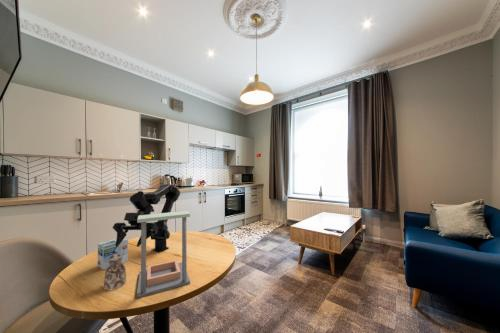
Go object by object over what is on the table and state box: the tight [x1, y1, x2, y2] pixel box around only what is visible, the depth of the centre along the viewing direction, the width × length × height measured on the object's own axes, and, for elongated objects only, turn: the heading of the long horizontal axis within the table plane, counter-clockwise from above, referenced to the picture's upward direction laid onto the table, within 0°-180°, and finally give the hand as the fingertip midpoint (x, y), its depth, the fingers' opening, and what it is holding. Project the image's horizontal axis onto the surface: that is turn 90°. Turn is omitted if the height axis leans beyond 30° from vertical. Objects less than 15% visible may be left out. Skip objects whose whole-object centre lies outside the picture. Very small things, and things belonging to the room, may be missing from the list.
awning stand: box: [136, 210, 191, 299], centre depth 78 cm, size 18×18×27 cm
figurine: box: [103, 252, 127, 291], centre depth 73 cm, size 7×7×12 cm
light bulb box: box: [97, 238, 129, 271], centre depth 91 cm, size 11×7×11 cm, turn 148°
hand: (126, 246), depth 80 cm, fingers open, 9 cm apart
